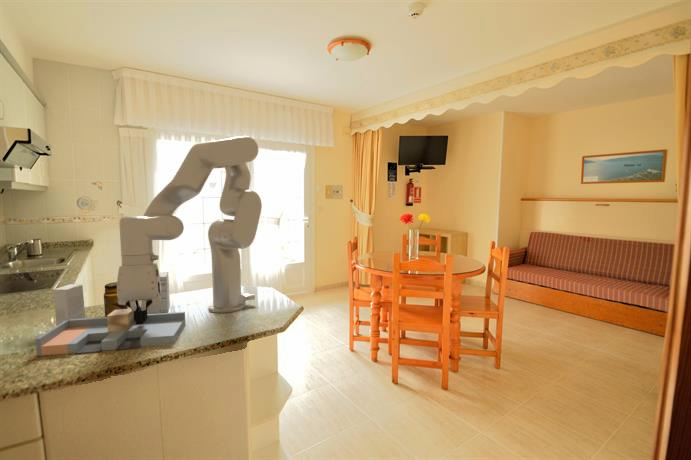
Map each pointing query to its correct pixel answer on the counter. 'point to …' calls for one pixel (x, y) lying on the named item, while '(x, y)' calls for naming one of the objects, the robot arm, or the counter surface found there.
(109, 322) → the block
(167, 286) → the supplement box
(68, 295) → the skincare box
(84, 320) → the board
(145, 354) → the counter surface
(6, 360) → the counter surface
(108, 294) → the condiment
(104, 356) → the counter surface
